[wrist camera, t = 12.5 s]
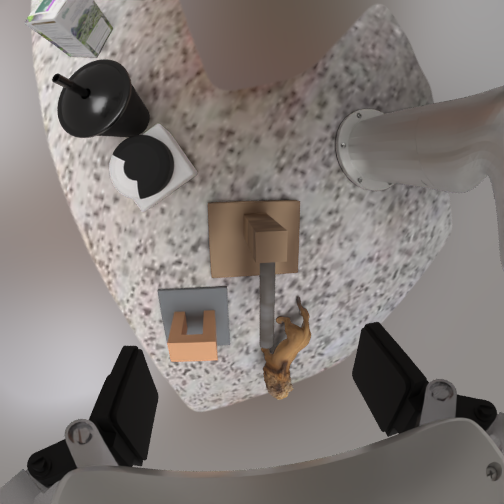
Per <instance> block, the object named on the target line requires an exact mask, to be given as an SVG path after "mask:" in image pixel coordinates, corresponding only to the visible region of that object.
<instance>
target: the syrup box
mask: <svg viewBox="0 0 504 504" xmlns="http://www.w3.org/2000/svg"><path fill="white" fill-rule="evenodd" d="M25 25H27V26H28V27H30V28H31V29H32V30H34V31H35V32H37V33H38V34H40V35H41V36H43V37H44V38H45V39H47V40H48V41H50V42H51V43H52V44H54V45H55V46H57V47H58V48H59V49H61V50H62V51H63V52H65V53H66V54H67V55H69V56H79V57H97V56H98V55H99V53H100V51H101V49H102V47H103V45H104V43H105V41H106V40H107V38H108V36H109V34H110V33H111V31H112V29H113V28H112V26H111V25H110V23H109V22H108V20H107V19H106V17H105V16H104V15H103V13H102V12H101V10H100V9H99V7H98V6H97V4H96V3H95V2H94V0H39V1H38V3H37V4H36V6H35V7H34V9H33V10H32V12H31V14H30V15H29V17H28V18H27V20H26V22H25Z"/></svg>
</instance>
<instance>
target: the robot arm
mask: <svg viewBox="0 0 504 504" xmlns="http://www.w3.org/2000/svg"><path fill="white" fill-rule="evenodd" d="M341 145H342V147H341ZM336 153H337V158H338V161H339V164H340V166H341V168H342V170H343V172H344V173H345V174H346V176H347V177H348V178H349V179H350V180H351V181H352V182H353V183H354V184H356V185H357V186H359V187H361V188H363V189H366V190H371V191H381V190H385V189H387V188H390V187H391V186H392V185H394V184H395V183H396V184H403V185H410V186H416V187H422V188H428V189H434V190H439V191H445V192H451V193H465V192H468V191H470V190H472V189H474V188H476V187H477V186H478V185H479V184H480V183H481V182H482V181H483V180H484V179H485V178H486V176H487V175H488V176H489V178H490V180H491V183H492V188H493V193H494V199H495V203H496V211H497V221H498V234H499V250H500V259H501V264H502V268H503V271H504V86H501V87H498V88H495V89H492V90H489V91H486V92H483V93H479V94H476V95H472V96H468V97H464V98H460V99H455V100H450V101H444V102H439V103H433V104H428V105H423V106H418V107H413V108H409V109H404V110H400V111H395V112H391V113H387V114H384V113H382V112H381V111H378V110H375V109H361V110H358V111H355V112H353V113H351V114H349V115H348V116H347V117H346V118H345V119H344V120H343V122H342V123H341V125H340V127H339V129H338V132H337V137H336ZM357 179H358V180H357ZM352 376H353V379H354V381H355V383H356V385H357V387H358V389H359V390H360V392H361V394H362V396H363V397H364V400H365V401H366V403H367V405H368V407H369V409H370V411H371V412H372V414H373V416H374V418H375V420H376V422H377V423H378V425H379V427H380V429H381V431H382V432H386V434H387V436H388V437H389V436H391V435H394V434H396V433H399V434H398V435H395V436H393V437H390V438H387V439H384V440H381V441H379V442H376V443H373V444H370V445H367V446H364V447H361V448H357V449H354V450H351V451H347V452H344V453H340V454H336V455H332V456H328V457H324V458H320V459H315V460H310V461H305V462H301V463H295V464H289V465H283V466H276V467H268V468H260V469H249V470H235V471H208V472H207V471H200V472H199V471H172V470H156V469H145V468H136V467H132V466H133V465H137V466H142V463H143V460H146V459H147V455H148V449H149V444H150V438H151V433H152V428H153V422H154V417H155V412H156V407H157V403H158V392H157V390H156V387H155V384H154V382H153V379H152V377H151V374H150V371H149V368H148V366H147V363H146V360H145V357H144V354H143V351H142V350H141V349H138V347H137V346H123V348H122V350H121V352H120V354H119V356H118V358H117V360H116V363H115V365H114V367H113V369H112V372H111V374H110V375H108V376H107V378H106V380H105V382H104V385H103V387H102V389H101V392H100V394H99V396H98V399H97V401H96V403H95V406H94V408H93V411H92V413H91V416H90V418H89V420H86V419H78V420H75V421H73V422H71V423H70V424H69V425H68V426H67V428H66V430H65V439H64V440H62V441H60V442H58V443H56V444H53V445H51V446H49V447H47V448H45V449H42V450H40V451H38V452H36V453H34V454H32V455H31V457H30V458H29V460H28V463H27V467H28V469H27V470H26V471H25V470H24V469H22V470H21V471H20V472H19V473H18V474H17V475H15V476H14V477H13V478H12V479H11V480H10V481H9V482H7V483H6V484H5V485H4V486H3V487H1V489H0V504H504V413H501V412H500V413H499V414H497V410H496V408H495V406H494V405H493V404H492V403H491V402H489V401H486V400H482V399H476V398H471V397H466V396H460V395H457V392H456V388H455V387H454V385H453V384H452V383H451V382H449V381H447V380H444V379H436V380H433V381H431V382H430V383H429V382H428V381H427V380H426V377H425V376H424V375H423V373H422V372H421V371H420V370H419V369H418V367H417V366H416V365H415V364H414V363H413V361H412V360H411V359H410V358H409V357H408V355H407V354H406V353H405V352H404V351H403V349H402V348H401V347H400V346H399V345H398V344H397V342H396V341H395V340H394V339H393V338H392V337H391V336H390V334H389V333H388V332H387V331H386V330H385V329H384V328H383V326H382V325H381V324H380V323H379V322H374V323H369V324H366V325H365V327H364V328H362V330H361V334H360V339H359V344H358V349H357V354H356V358H355V363H354V367H353V371H352Z"/></svg>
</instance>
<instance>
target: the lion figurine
mask: <svg viewBox="0 0 504 504" xmlns="http://www.w3.org/2000/svg"><path fill="white" fill-rule="evenodd" d="M297 305H298V307H299V309H300V312H299V313H300V315H301V316H303V324H302V327H301V328H300V327H299V326H297V325H295V324H293V323H291V321H290V318H289V317H282V316H281V317H278V318H277V319H276V322H277V323H278V324H282V323H283V322H284V323H285V332H286V335H287V337H288V338H287V339H285V340H283V341H282V342H280V343H279V345H278V346H277V347H276V349H275V351H274V354H271V353H270V349H269V348H268V349H265V348H261V351H262V352H263V353H264V354H265V360H266V364H265V366H264V368H263V371H264V373H263V374H264V381H265V383H266V388H267V390H268V393H269V394H271V395H272V396H273V397H275V398H277V399H278V400H279V399H283V398H285V397H287V396H288V394H289V392H290V391H292V390H293V386H292V384H291V378H290V370H289V369H290V364H291V363H292V361H293V360H294V359H295V357H296V355H297V353H298V352H299V351H300V350H302V349H303V348H304V347H306V346H307V344H308V343H309V341H310V338H311V332H310V329H309V322H308V321H309V313H308V311H307V309H305V308H303V307H302V306H301V300H300V297H297Z"/></svg>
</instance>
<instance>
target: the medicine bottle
mask: <svg viewBox="0 0 504 504" xmlns="http://www.w3.org/2000/svg"><path fill="white" fill-rule="evenodd" d="M109 174H110V179H111V181H112V184H113V185H114V187H115V188H116V190H117V191H118V192H119V193H120V194H122V195H123V196H125V197H128V198H131V199H133V200H134V202H135V203H136V205H137V206H138V207H139V209H140V210H141V211H142V212H144V211H146V210H148V209H149V208H151V207H153V206H154V205H156V204H158V203H159V202H160V201H162V200H163V199H164V198H166V197H167V196H168V195H170V194H171V193H172V192H174V191H175V190H176V189H178V188H179V187H180V186H182V185H183V184H185V183H186V182H187V181H189V180H190V179H192V178H193V177H194V176H196V175H197V171H196V169H195V168H194V166H193V165H192V163H191V162H190V161H189V159H188V158H187V156H186V155H185V153H184V152H183V150H182V149H181V148H180V146H179V145H178V143H177V142H176V140H175V139H174V137H173V136H172V135H171V133H170V132H169V131H168V130H167V129H165V128H164V127H163V126H162V125H161V124H159V123H158V124H156V125H154V126H153V127H152V128H150V129H149V130H148V131H146V132H145V133H144V134H142V135H135V136H132V137H129V138H127V139H126V140H124V141H123V142H122V143H120V144H119V145H118V146H117V148H116V149H115V151H114V152H113V154H112V157H111V160H110V162H109Z"/></svg>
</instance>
